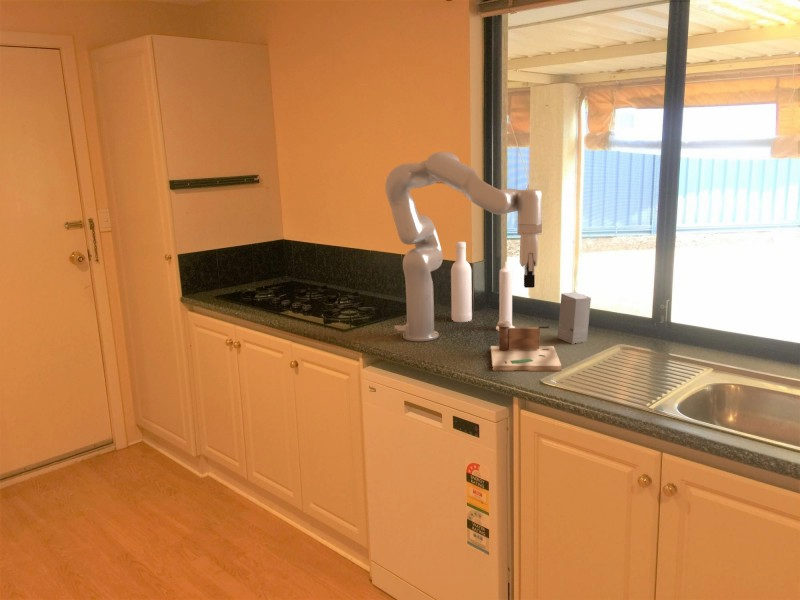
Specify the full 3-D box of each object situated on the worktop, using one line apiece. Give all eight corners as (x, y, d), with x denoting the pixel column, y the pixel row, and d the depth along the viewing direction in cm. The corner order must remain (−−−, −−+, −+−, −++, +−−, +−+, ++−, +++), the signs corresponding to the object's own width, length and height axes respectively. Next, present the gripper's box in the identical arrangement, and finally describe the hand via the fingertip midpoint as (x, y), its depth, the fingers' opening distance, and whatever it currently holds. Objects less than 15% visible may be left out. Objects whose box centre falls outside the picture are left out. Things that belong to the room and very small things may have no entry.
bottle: (476, 320, 258) (476, 242, 251) (460, 323, 254) (459, 244, 247) (463, 316, 264) (462, 240, 258) (447, 319, 260) (446, 242, 254)
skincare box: (557, 338, 230) (558, 293, 227) (574, 335, 233) (575, 291, 230) (572, 344, 223) (573, 298, 219) (590, 341, 225) (591, 295, 222)
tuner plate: (492, 370, 200) (492, 364, 199) (490, 350, 219) (490, 345, 219) (561, 370, 198) (561, 365, 197) (553, 350, 217) (553, 345, 217)
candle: (515, 332, 240) (515, 262, 234) (495, 331, 241) (495, 262, 236) (515, 327, 246) (516, 259, 241) (496, 326, 248) (496, 259, 242)
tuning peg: (497, 350, 213) (497, 324, 211) (497, 347, 217) (497, 320, 215) (549, 351, 211) (549, 323, 209) (547, 347, 215) (548, 320, 213)
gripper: (515, 227, 218) (515, 282, 222) (519, 232, 204) (518, 292, 208) (539, 226, 218) (538, 282, 222) (544, 232, 203) (543, 291, 207)
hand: (529, 286), depth 215 cm, fingers closed
